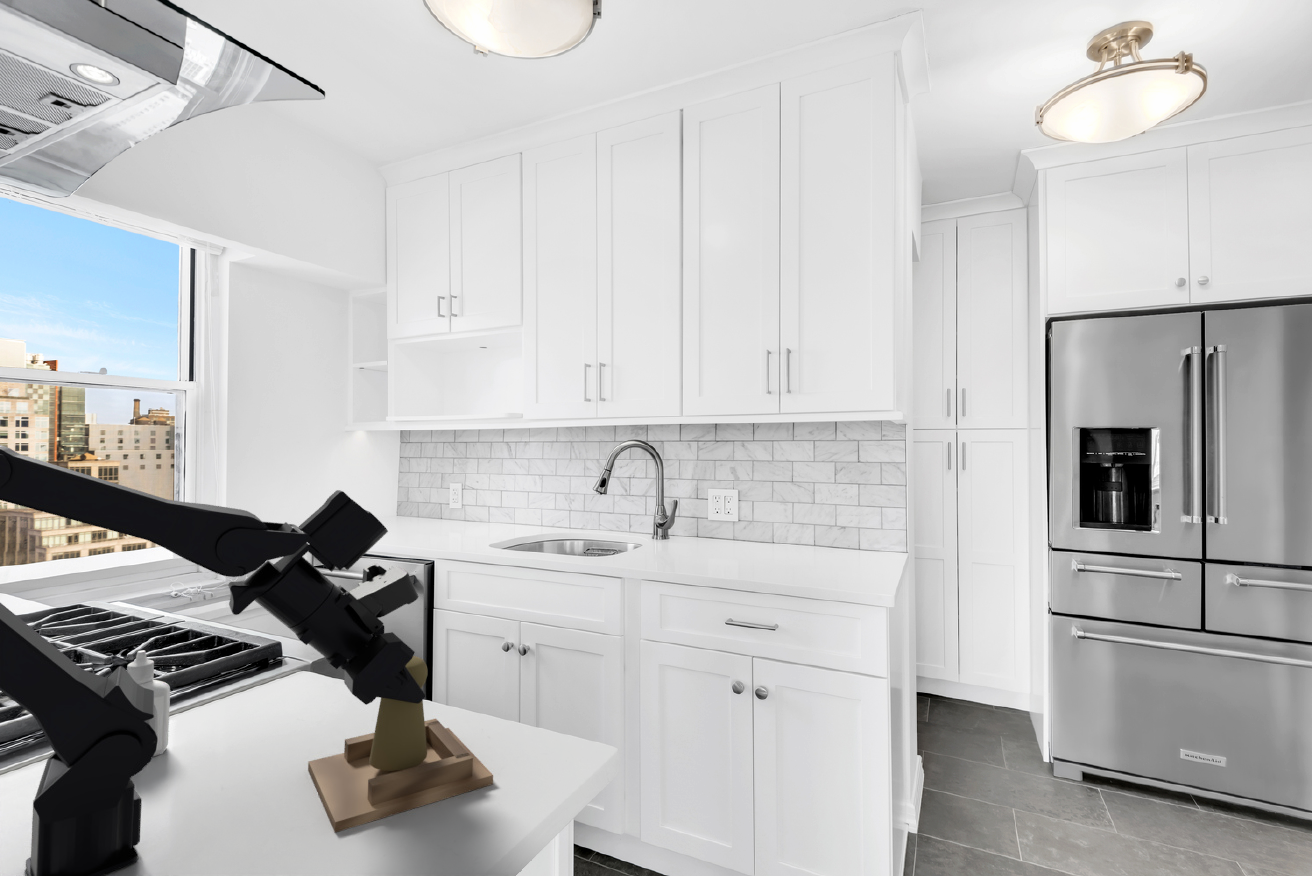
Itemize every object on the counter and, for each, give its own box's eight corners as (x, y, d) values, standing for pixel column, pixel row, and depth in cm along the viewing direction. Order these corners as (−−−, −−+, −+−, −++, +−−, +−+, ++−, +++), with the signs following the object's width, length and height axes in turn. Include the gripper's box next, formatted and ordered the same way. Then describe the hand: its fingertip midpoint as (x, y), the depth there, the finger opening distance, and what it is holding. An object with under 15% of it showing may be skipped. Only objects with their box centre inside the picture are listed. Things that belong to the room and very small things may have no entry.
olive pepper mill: (379, 776, 68) (384, 672, 68) (361, 753, 73) (366, 655, 73) (435, 760, 72) (440, 661, 72) (415, 739, 77) (420, 646, 77)
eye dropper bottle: (145, 765, 73) (149, 658, 73) (96, 763, 73) (101, 656, 73) (175, 747, 77) (179, 646, 77) (129, 744, 78) (133, 644, 78)
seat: (334, 832, 62) (336, 801, 62) (308, 770, 73) (309, 743, 73) (492, 784, 72) (493, 756, 72) (448, 735, 83) (448, 712, 83)
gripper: (397, 560, 63) (498, 656, 70) (351, 534, 78) (438, 615, 84) (301, 655, 58) (420, 748, 65) (272, 607, 73) (371, 687, 80)
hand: (414, 691), depth 73 cm, fingers open, 5 cm apart
